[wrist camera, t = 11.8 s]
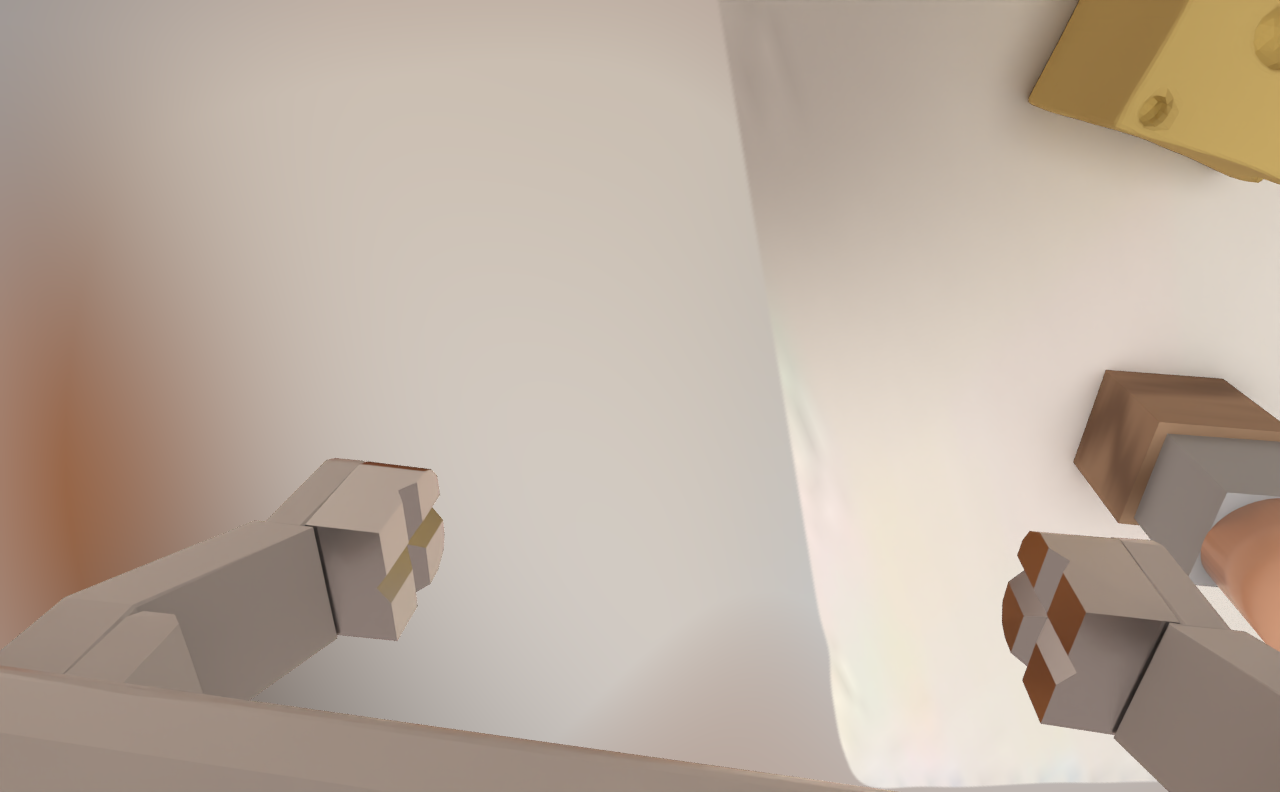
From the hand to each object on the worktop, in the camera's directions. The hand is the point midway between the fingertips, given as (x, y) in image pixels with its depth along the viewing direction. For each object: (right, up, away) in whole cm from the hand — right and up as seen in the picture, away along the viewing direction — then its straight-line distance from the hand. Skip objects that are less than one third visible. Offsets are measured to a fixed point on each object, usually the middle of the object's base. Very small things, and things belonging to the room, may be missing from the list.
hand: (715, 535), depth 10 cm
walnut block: (+28, 0, +31) cm, 41 cm away
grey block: (+27, -2, +26) cm, 37 cm away
